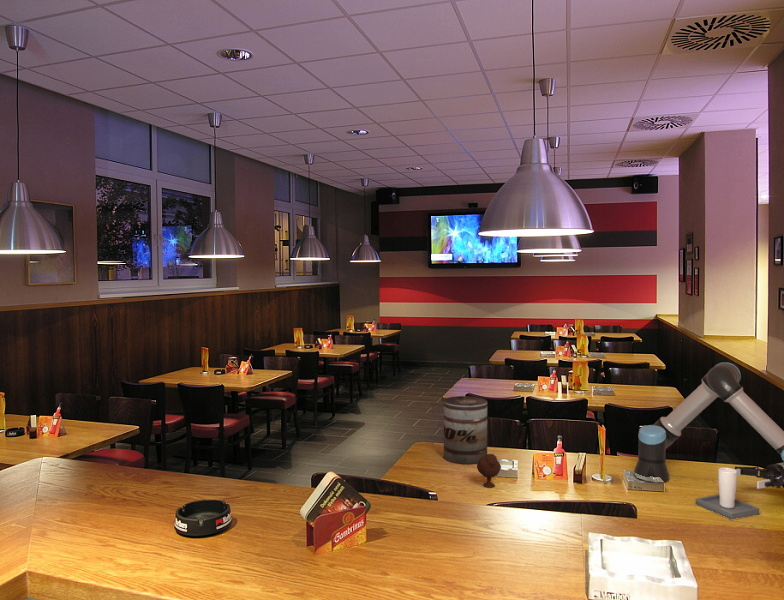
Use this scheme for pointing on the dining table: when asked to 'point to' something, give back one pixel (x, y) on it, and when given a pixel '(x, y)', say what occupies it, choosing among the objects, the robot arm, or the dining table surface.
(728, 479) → the drinking glass
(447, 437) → the barrel
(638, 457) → the robot arm
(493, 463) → the ice cream bowl
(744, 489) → the dining table surface
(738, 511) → the serving tray
